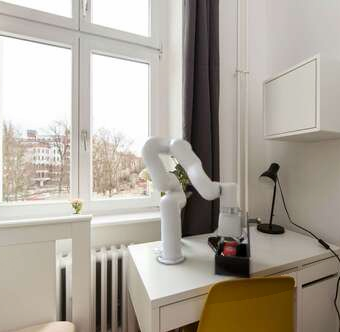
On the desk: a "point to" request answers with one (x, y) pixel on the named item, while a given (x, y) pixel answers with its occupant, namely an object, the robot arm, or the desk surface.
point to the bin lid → (249, 231)
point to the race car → (230, 249)
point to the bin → (233, 263)
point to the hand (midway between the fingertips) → (230, 251)
